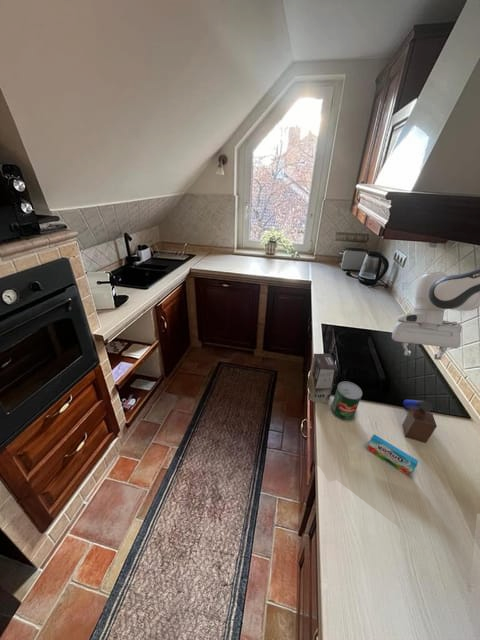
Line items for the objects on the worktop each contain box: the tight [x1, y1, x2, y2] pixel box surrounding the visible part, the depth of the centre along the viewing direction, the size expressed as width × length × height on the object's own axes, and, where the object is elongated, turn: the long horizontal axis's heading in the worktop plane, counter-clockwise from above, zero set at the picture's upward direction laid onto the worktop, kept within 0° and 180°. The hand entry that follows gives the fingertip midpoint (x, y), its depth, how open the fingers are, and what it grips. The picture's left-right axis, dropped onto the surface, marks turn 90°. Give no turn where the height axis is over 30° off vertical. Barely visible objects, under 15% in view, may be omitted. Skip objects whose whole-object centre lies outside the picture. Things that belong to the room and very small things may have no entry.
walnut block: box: [401, 408, 438, 444], centre depth 81 cm, size 5×6×8 cm
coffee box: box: [306, 353, 339, 404], centre depth 93 cm, size 9×6×16 cm
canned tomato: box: [330, 380, 363, 422], centre depth 88 cm, size 8×8×11 cm
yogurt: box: [365, 433, 419, 477], centre depth 74 cm, size 12×2×6 cm, turn 48°
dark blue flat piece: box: [402, 399, 434, 413], centre depth 86 cm, size 13×3×13 cm, turn 160°
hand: (422, 357), depth 90 cm, fingers open, 8 cm apart
